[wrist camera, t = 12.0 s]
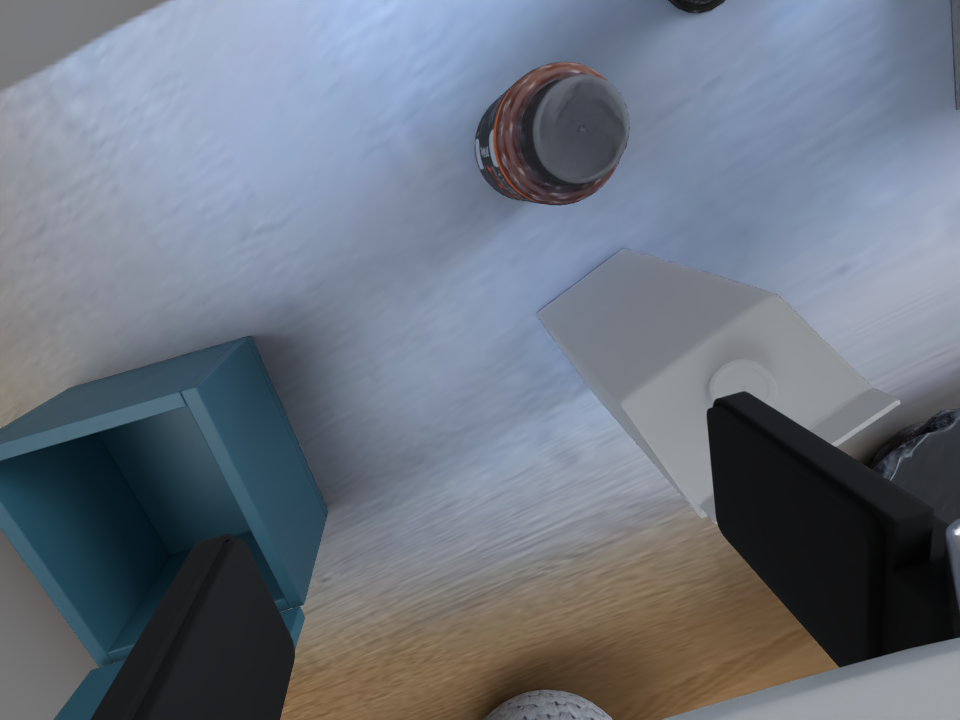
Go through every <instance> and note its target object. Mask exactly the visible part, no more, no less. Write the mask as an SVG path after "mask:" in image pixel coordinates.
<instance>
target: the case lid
mask: <svg viewBox="0 0 960 720" xmlns="http://www.w3.org/2000/svg"><path fill="white" fill-rule="evenodd" d="M280 615H281V617H282V619H283V621H284V623H285V625H286V627H287V629H288V631H289V633H290V635H291V637H292V640H293V643H294V649H295V648H296V645H297V641H298V638H299V635H300V632H301V629H302V625H303V622H304V619H305V616H304V614H303V612H302V610H301V607H300V606H299V607H296V608H293V609H289V610H286V611H283V612H280ZM124 662H125V660H123V661H120V662H116V663H113V664H110V665H107V666H103V667H100V668H97V669H93V670H91V671H90V672H89V674H88V675H87V676H86V678H85V679H84V680H83V681H82V683H81V684H80V685H79V687H78V688H77V689H76V691H75V692H74V693H73V695H72V696H71V697H70V699H69V700H68V701H67V703H66V704H65V705H64V707H63V708H62V709H61V711H60V712H59V713H58V715H57V716H56V717H55V718H54V720H90V719H91V718H92V716H93V714H94V713H95V711H96V709H97V708H98V706H99V704H100V702H101V701H102V699H103V697H104V696H105V694H106V692H107V691H108V689H109V687H110V686H111V684H112V682H113V681H114V679H115V677H116V676H117V674H118V672H119V671H120V669H121V667H122V665H123V664H124Z"/></svg>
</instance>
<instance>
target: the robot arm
mask: <svg viewBox="0 0 960 720" xmlns="http://www.w3.org/2000/svg"><path fill="white" fill-rule="evenodd" d="M707 427H708V438H709V449H710V460H711V471H712V481H713V492H714V503H715V514H716V521H717V524H718V527H719V529H720V531H721V533H722V534H723V536H724V537H725V538H726V539H727V540H728V542H729V543H730V544H731V545H732V546H733V547H734V548H735V550H736V551H737V552H738V553H739V554H740V555H741V556H742V557H743V559H744V560H745V561H746V562H747V563H748V564H749V565H750V567H751V568H752V569H753V570H754V571H755V572H756V573H757V574H758V576H759V577H760V578H761V579H762V580H763V581H764V582H765V584H766V585H767V586H768V587H769V588H770V589H771V590H772V591H773V593H774V594H775V595H776V596H777V597H778V598H779V599H780V600H781V602H782V603H783V604H784V605H785V606H786V607H787V608H788V610H789V611H790V612H791V613H792V614H793V615H794V616H795V617H796V619H797V620H798V621H799V622H800V623H801V624H802V625H803V627H804V628H805V629H806V630H807V631H808V632H809V633H810V634H811V636H812V637H813V638H814V639H815V640H816V641H817V642H818V644H819V645H820V646H821V647H822V648H823V649H824V650H825V651H826V653H827V654H828V655H829V656H830V657H831V658H832V659H833V661H834V662H835V663H836V664H837V665H838V666H839V667H840V668H837V669H833V670H830V671H826V672H822V673H819V674H815V675H811V676H808V677H804V678H801V679H797V680H794V681H791V682H787V683H784V684H780V685H777V686H774V687H770V688H767V689H763V690H760V691H757V692H753V693H750V694H746V695H743V696H740V697H736V698H733V699H729V700H726V701H723V702H719V703H716V704H712V705H709V706H706V707H702V708H699V709H695V710H692V711H689V712H685V713H682V714H678V715H675V716H672V717H668V718H665V719H661V720H960V519H958V520H955V521H954V522H953V523H952V524H951V525H949V524H947V523H946V522H944V521H942V520H941V519H939V518H938V517H936V516H935V515H934V508H932V507H931V506H929V505H928V504H926V503H924V502H923V501H921V500H920V499H918V498H916V497H915V496H913V495H912V494H910V493H908V492H907V491H905V490H904V489H902V488H900V487H899V486H897V485H896V484H894V483H892V482H891V481H889V480H888V479H886V478H884V477H883V476H881V475H880V474H878V473H876V472H875V471H873V470H872V469H870V468H868V467H867V466H865V465H864V464H862V463H860V462H859V461H857V460H856V459H854V458H852V457H851V456H849V455H848V454H846V453H844V452H843V451H841V450H840V449H838V448H836V447H835V446H833V445H832V444H830V443H828V442H827V441H825V440H824V439H822V438H820V437H819V436H817V435H816V434H814V433H812V432H811V431H809V430H808V429H806V428H804V427H803V426H801V425H800V424H798V423H796V422H795V421H793V420H792V419H790V418H788V417H787V416H785V415H784V414H782V413H780V412H779V411H777V410H776V409H774V408H772V407H771V406H769V405H768V404H766V403H764V402H763V401H761V400H760V399H758V398H756V397H755V396H753V395H752V394H750V393H748V392H746V391H743V392H738V393H735V394H731V395H728V396H724V397H720V398H717V399H715V400H714V403H713V407H712V408H709V409H708V410H707ZM294 658H295V649H294V643H293V640H292V637H291V635H290V633H289V631H288V629H287V627H286V625H285V623H284V621H283V619H282V617H281V615H280V612H279V610H278V608H277V606H276V604H275V602H274V600H273V598H272V596H271V594H270V592H269V590H268V588H267V586H266V584H265V582H264V579H263V577H262V575H261V573H260V571H259V569H258V567H257V565H256V563H255V561H254V559H253V557H252V555H251V553H250V551H249V549H248V546H247V544H246V543H245V541H244V540H243V539H241V538H238V539H235V537H234V536H232V535H231V534H224V535H221V536H217V537H213V538H210V539H206V540H202V541H199V542H197V543H196V544H195V545H194V546H193V548H192V549H191V551H190V553H189V554H188V556H187V558H186V559H185V561H184V563H183V564H182V566H181V568H180V569H179V571H178V573H177V575H176V576H175V578H174V580H173V581H172V583H171V585H170V586H169V588H168V590H167V591H166V593H165V595H164V596H163V598H162V600H161V601H160V603H159V605H158V607H157V608H156V610H155V612H154V613H153V615H152V617H151V618H150V620H149V622H148V623H147V625H146V627H145V628H144V630H143V632H142V633H141V635H140V637H139V639H138V640H137V642H136V644H135V645H134V647H133V649H132V650H131V652H130V654H129V655H128V657H127V659H126V660H125V662H124V664H123V665H122V667H121V669H120V671H119V672H118V674H117V676H116V677H115V679H114V681H113V682H112V684H111V686H110V687H109V689H108V691H107V692H106V694H105V696H104V697H103V699H102V701H101V702H100V704H99V706H98V708H97V709H96V711H95V713H94V714H93V716H92V718H91V719H90V720H280V717H281V713H282V709H283V705H284V701H285V697H286V693H287V688H288V684H289V680H290V676H291V672H292V668H293V664H294Z"/></svg>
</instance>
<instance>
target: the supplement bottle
mask: <svg viewBox="0 0 960 720" xmlns="http://www.w3.org/2000/svg"><path fill="white" fill-rule="evenodd" d="M629 129H630V127H629V115H628V112H627V107H626V104H625V103H624V101H623V99H622V97H621V95H620V93H619V92H618V91H617V90H616V89H615V87H614V86H612V85H611V84H610V83H609V82H608V81H607V80H606V79H605V78H604V77H603V76H602V75H601V74H599V73H598V72H596V71H595V70H593V69H591V68H589V67H587V66H584V65H581V64H579V63H572V62H556V63H551V64H547V65H544V66H541V67H539V68H536V69H534V70H532V71H530V72H529V73H527V74H526V75H525V76H523V77H522V78H521V79H520V80H518V81H517V82H516V83H515V84H513V85H512V86H511V87H510V88H509V89H508V90H507V91H506V92H505V93H504V94H503V95H501V96H500V97H499V98H498V99H497V100H496V101H495V102H494V103H493V104H492V105H491V106H490V107H489V108H488V110H487V111H486V112H485V114H484V116H483V117H482V119H481V121H480V123H479V125H478V129H477V132H476V138H475V155H476V160H477V163H478V167H479V169H480V171H481V173H482V175H483V176H484V178H485V180H486V181H487V182H488V183H489V184H490V185H491V186H492V187H493V188H494V189H495V190H497V191H498V192H499V193H501V194H502V195H505V196H506V197H508V198H512V199H516V200H522V201H529V202H534V203H539V204H547V205H567V204H571V203H575V202H579V201H581V200H583V199H585V198H586V197H589V196H590V195H592V194H593V193H595V192H596V191H597V190H598V189H599V188H601V187H602V186H603V185H604V184H605V182H606V181H607V180H608V179H609V178H610V176H611V175H612V174H613V172H614V170H615V169H616V167H617V165H618V163H619V160H620V158H621V156H622V154H623V152H624V150H625V148H626V146H627V140H628V137H629Z"/></svg>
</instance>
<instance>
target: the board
mask: <svg viewBox="0 0 960 720" xmlns="http://www.w3.org/2000/svg"><path fill="white" fill-rule="evenodd" d="M868 468H870V469H872V470H873V471H875V472H876V473H878V474H880V475H881V476H883V477H884V478H886V479H888V480H889V481H891V482H892V483H894V484H896V485H897V486H899V487H900V488H902V489H904V490H905V491H907V492H908V493H910V494H912V495H913V496H915V497H916V498H918V499H920V500H921V501H923V502H924V503H926V504H928V505H929V506H931V507H932V508H934V515H935V516H936V517H938V518H939V519H941V520H942V521H944V522H946V523H947V524H949V525H951V524H952V523H953V522H954V521H955V520H958V519H960V408H959V409H952V410H943V411H940V412H939V413H938V414H936V415H934V416H933V417H932V418H931V419H929V420H928V421H926V422H923V423H917V424H914V425H911V426H909V427H907V428H905V429H904V430H903V431H901V432H899V433H898V434H897V435H895V436H893V437H892V438H891V442H890V443H888V444H886V445H883V447H882V448H881V449H880V451H879V452H878V453H877V455H876V457H875V458H874V459H873V463H871V464H870V466H869V467H868Z"/></svg>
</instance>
